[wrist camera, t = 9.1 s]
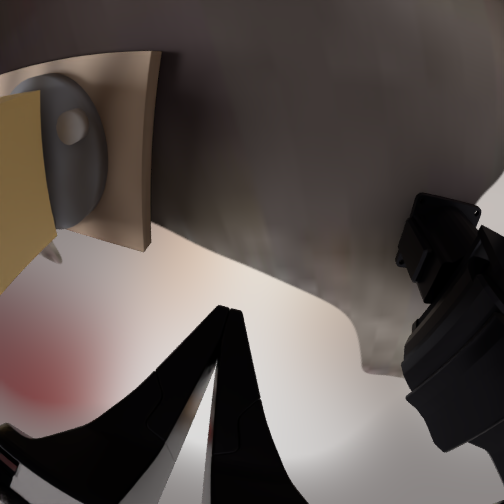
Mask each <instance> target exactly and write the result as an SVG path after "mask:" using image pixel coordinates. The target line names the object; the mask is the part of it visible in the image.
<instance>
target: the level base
mask: <svg viewBox="0 0 504 504" xmlns="http://www.w3.org/2000/svg"><path fill="white" fill-rule="evenodd" d="M161 54H162V52H161V51H134V52H116V53H104V54H95V55H87V56H80V57H73V58H67V59H61V60H56V61H51V62H46V63H42V64H38V65H34V66H30V67H26V68H22V69H19V70H15V71H12V72H8V73H5V74H2V75H0V97H2V96H7V95H12V94H18V93H24V92H30V91H37V90H40V119H41V138H42V150H43V159H44V168H45V175H46V182H47V188H48V194H49V200H50V205H51V210H52V215H53V220H54V224H55V228H56V229H67V230H70V231H73V232H76V233H80V234H83V235H86V236H90V237H93V238H96V239H100V240H103V241H106V242H110V243H113V244H117V245H120V246H124V247H127V248H131V249H134V250H137V251H141V252H145V250H146V249H147V247H148V246H149V245H150V243H151V207H150V197H151V156H152V137H153V123H154V111H155V100H156V91H157V83H158V75H159V67H160V60H161Z"/></svg>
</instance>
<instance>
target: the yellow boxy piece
mask: <svg viewBox="0 0 504 504" xmlns="http://www.w3.org/2000/svg"><path fill="white" fill-rule="evenodd" d="M56 236H57V233H56V228H55V224H54V220H53V215H52V210H51V205H50V200H49V194H48V188H47V182H46V175H45V168H44V159H43V150H42V138H41V119H40V90H37V91H30V92H24V93H18V94H12V95H7V96H2V97H0V295H1V294H2V293H3V292H4V291H5V289H6V288H7V287H8V286H9V285H10V284H11V283H12V281H13V280H14V279H15V278H16V277H17V276H18V275H19V274H20V273H21V272H22V270H23V269H24V268H25V267H26V266H27V265H28V264H29V263H30V262H31V261H32V260H33V259H34V258H35V257H36V256H37V255H38V254H39V253H40V252H41V251H42V250H43V249H44V248H45V247H46V246H47V245H48V244H49V243H50V242H51V241H52V240H53V239H54V238H55V237H56Z"/></svg>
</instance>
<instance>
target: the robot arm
mask: <svg viewBox="0 0 504 504" xmlns="http://www.w3.org/2000/svg"><path fill="white" fill-rule="evenodd" d="M422 198H424V200H423V201H422V202H420V200H421V199H422ZM476 211H477V212H476ZM475 212H476V213H475ZM480 216H481V209H480V208H479V207H478V206H476V205H472V204H469V203H465V202H461V201H457V200H453V199H448V198H444V197H440V196H435V195H431V194H426V193H419V194H418V195H417V196H416V198H415V201H414V204H413V208H412V211H411V214H410V218H408V219H407V221H406V224H405V227H404V230H403V233H402V236H401V239H400V242H399V245H398V248H399V250H398V253H397V256H396V258H395V261H396V264H397V266H398V267H405V268H407V270H408V273H409V275H410V278H411V280H412V282H413V283H417V285H418V288H419V291H420V293H421V296H422V299H423V302H424V303H427V304H431V305H430V306H429V307H428V308H427V310H426V311H425V312H424V313H423V315H422V316H421V317H420V318H419V319H417V320H416V321H415V322H414V323H413V325H412V334H411V335H410V336H409V338H408V340H407V342H406V344H405V348H404V361H403V362H402V363H401V367H402V371H403V375H404V377H405V380H406V382H407V384H408V386H409V388H410V389H411V391H412V392H411V393H409V394H408V395H407V396H406V400H407V401H408V402H409V403H410V404H411V405H412V406H414V407H415V408H416V409H417V410H418V411H419V413H420V414H421V416H422V417H423V418H424V420H425V422H426V424H427V426H428V429H429V431H430V434H431V437H432V439H433V442H434V443H435V445H437V447H438V448H440V449H441V450H442V451H443V452H448V451H451V450H453V449H455V448H457V447H459V446H461V445H463V444H464V443H467V442H469V443H471V444H473V445H475V446H478V447H480V448H483V449H485V450H486V451H487V453H488V454H489V456H490V457H491V459H492V461H493V463H494V465H495V468H496V469H497V472H498V474H499V476H500V478H501V481H502V483H503V485H504V237H503V236H501V235H500V234H498V233H496V232H494V231H492V230H491V229H489V228H487V227H485V226H483V225H481V227H480V228H479V230H477V229H476V226H477V223H478V221H479V218H480ZM400 260H403V261H401V262H399V261H400ZM216 363H217V364H216ZM215 366H216V371H215V380H214V388H213V396H212V405H211V414H210V424H209V432H208V443H207V452H206V462H205V472H204V483H203V494H202V504H309V503H308V502H307V501H306V500H305V499H304V497H303V496H302V495H301V494H300V492H299V491H298V490H297V489H296V487H295V486H294V485H293V483H292V482H291V480H290V478H289V477H288V475H287V473H286V470H285V468H284V466H283V464H282V461H281V459H280V456H279V454H278V451H277V449H276V447H275V444H274V442H273V439H272V436H271V433H270V430H269V427H268V425H267V421H266V418H265V414H264V410H263V406H262V401H261V399H260V393H259V389H258V384H257V379H256V374H255V371H254V365H253V361H252V356H251V351H250V346H249V342H248V338H247V332H246V327H245V323H244V317H243V313H242V311H241V310H237V309H232V308H231V309H229V308H228V307H225V306H221V305H218V306H217V307H216V308H215V309H214V310H213V311H212V312H211V313H210V314H209V315H208V316H207V317H206V318H205V319H204V320H203V321H202V322H201V323H200V324H199V325H198V326H197V327H196V328H195V330H193V331H192V333H191V334H190V335H189V336H188V337H187V338H186V339H185V340H184V341H183V342H182V343H181V344H180V345H179V346H178V347H177V348H176V349H175V350H174V351H173V352H172V353H171V354H170V355H169V356H168V357H167V358H166V359H165V360H164V361H163V362H162V363H161V364H160V366H159V367H157V369H156V371H153V372H152V373H151V375H150V376H149V377H148V378H147V379H145V380H144V381H143V382H142V383H141V384H140V385H139V386H138V387H137V388H136V389H135V390H133V391H132V392H131V393H130V394H129V395H127V396H126V397H125V398H124V399H122V400H121V401H120V402H119V403H117V404H116V405H114V406H113V407H112V408H110V409H109V410H108V411H106V412H105V413H103V414H102V415H101V416H99V417H98V418H96V419H95V420H93V421H92V422H90V423H88V424H85V425H83V426H80V427H77V428H74V429H71V430H67V431H64V432H60V433H57V434H53V435H50V436H46V437H43V438H37V439H35V438H32V437H30V436H29V435H27V434H25V433H24V432H22V431H21V430H19V429H18V428H16V427H14V426H13V425H11V424H9V423H4V424H2V425H0V504H158V502H159V499H160V497H161V495H162V492H163V490H164V487H165V485H166V483H167V481H168V478H169V476H170V473H171V471H172V469H173V467H174V464H175V462H176V460H177V457H178V455H179V452H180V450H181V448H182V445H183V443H184V441H185V438H186V436H187V434H188V431H189V429H190V426H191V424H192V421H193V419H194V417H195V415H196V412H197V410H198V407H199V405H200V402H201V400H202V398H203V395H204V393H205V391H206V388H207V386H208V383H209V381H210V379H211V376H212V374H213V371H214V369H215ZM494 504H504V500H502V501H500V502H497V503H494Z"/></svg>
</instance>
